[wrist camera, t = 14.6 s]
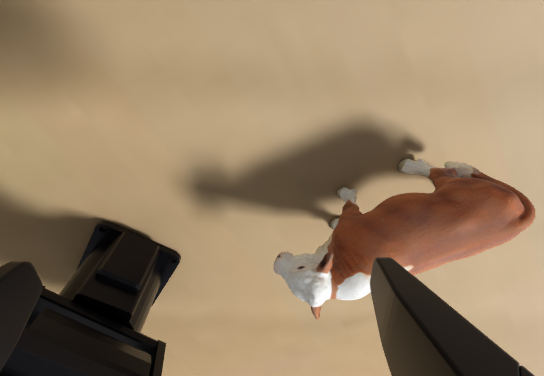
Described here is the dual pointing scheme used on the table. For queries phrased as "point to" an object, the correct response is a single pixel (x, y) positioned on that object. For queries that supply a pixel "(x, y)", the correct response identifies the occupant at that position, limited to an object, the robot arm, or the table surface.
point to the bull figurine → (408, 232)
